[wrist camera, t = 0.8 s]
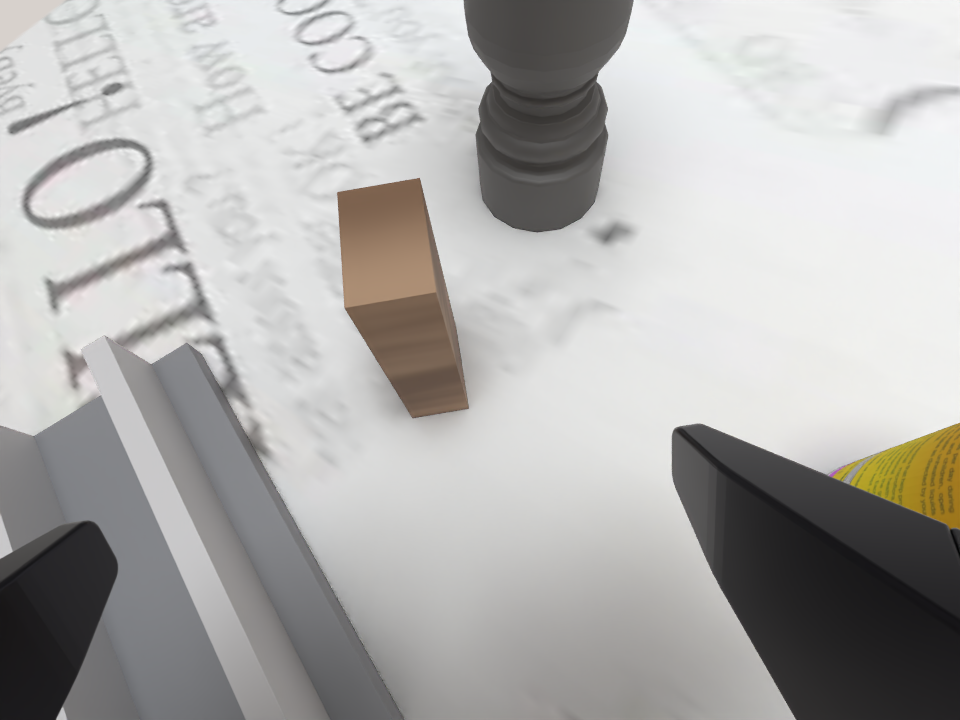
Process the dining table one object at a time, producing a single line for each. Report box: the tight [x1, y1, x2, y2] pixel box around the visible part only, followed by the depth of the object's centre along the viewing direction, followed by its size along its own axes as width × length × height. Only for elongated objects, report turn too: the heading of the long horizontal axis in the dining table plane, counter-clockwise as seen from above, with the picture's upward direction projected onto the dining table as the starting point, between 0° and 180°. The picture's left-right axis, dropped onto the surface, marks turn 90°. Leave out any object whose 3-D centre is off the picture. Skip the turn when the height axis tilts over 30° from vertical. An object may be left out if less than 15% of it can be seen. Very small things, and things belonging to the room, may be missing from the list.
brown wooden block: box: [337, 178, 469, 418], centre depth 20 cm, size 5×2×10 cm, turn 9°
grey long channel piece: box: [0, 335, 404, 720], centre depth 20 cm, size 18×10×4 cm, turn 36°
